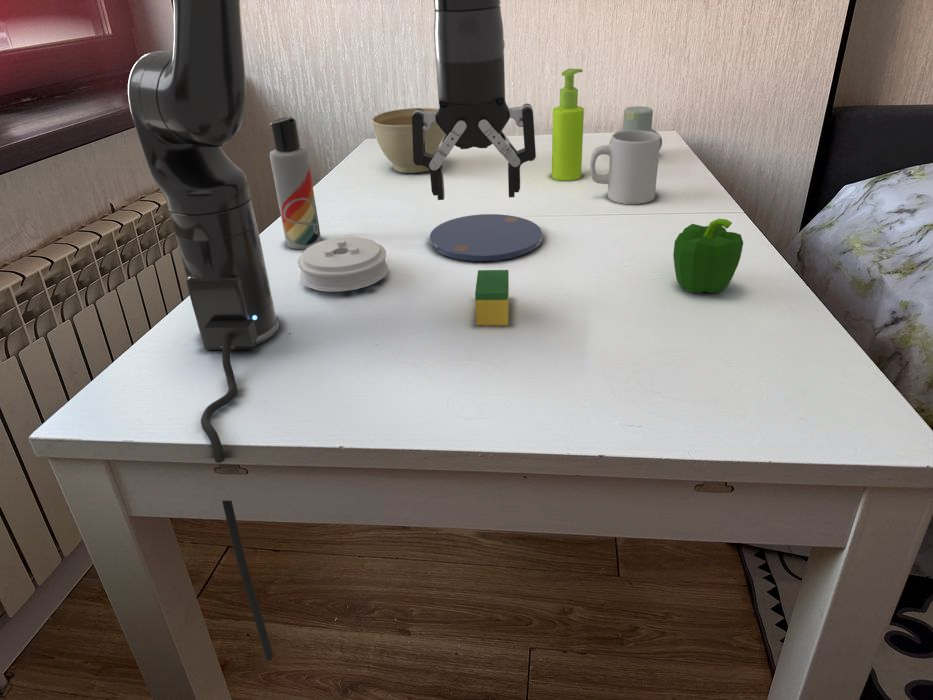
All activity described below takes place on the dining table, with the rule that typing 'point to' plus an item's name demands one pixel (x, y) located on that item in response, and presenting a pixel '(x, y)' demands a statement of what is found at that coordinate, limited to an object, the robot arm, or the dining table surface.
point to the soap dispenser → (567, 132)
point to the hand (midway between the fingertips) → (476, 196)
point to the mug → (629, 166)
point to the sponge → (492, 297)
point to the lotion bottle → (294, 186)
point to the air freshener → (638, 120)
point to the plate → (485, 237)
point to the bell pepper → (707, 256)
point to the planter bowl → (404, 138)
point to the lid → (342, 264)
